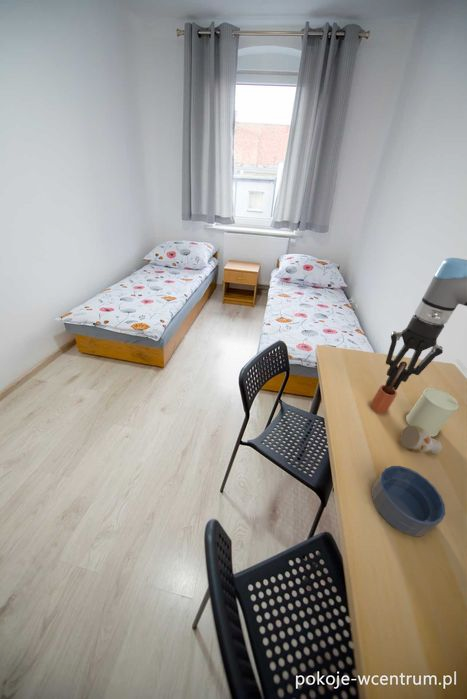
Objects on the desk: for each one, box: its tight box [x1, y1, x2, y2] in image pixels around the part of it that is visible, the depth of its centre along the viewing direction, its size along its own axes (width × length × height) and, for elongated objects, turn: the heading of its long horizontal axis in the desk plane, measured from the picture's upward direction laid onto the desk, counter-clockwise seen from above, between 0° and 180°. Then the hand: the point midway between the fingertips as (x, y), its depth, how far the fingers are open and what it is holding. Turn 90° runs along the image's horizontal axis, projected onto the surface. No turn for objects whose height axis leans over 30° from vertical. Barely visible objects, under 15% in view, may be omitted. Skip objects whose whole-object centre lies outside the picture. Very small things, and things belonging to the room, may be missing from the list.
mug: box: [400, 425, 442, 455], centre depth 78 cm, size 8×10×10 cm
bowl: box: [371, 465, 446, 537], centre depth 63 cm, size 13×13×6 cm
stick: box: [384, 360, 408, 395], centre depth 86 cm, size 2×2×19 cm
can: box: [405, 387, 460, 437], centre depth 84 cm, size 9×9×12 cm
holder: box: [370, 384, 398, 415], centre depth 89 cm, size 5×5×8 cm
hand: (391, 385), depth 86 cm, fingers closed on stick, 2 cm apart
